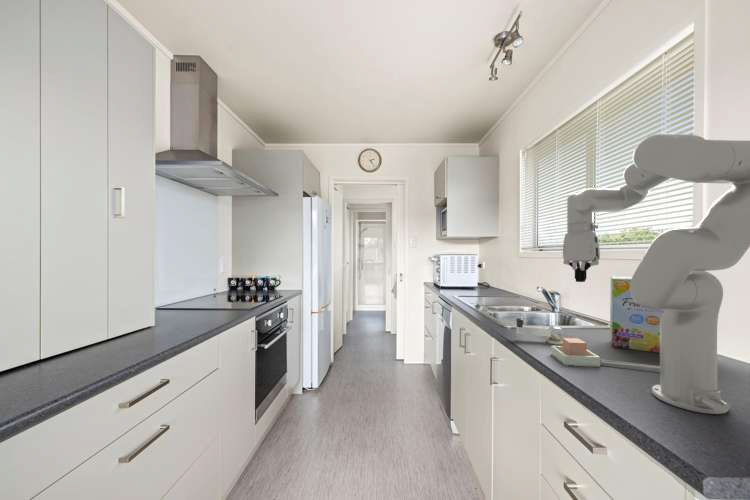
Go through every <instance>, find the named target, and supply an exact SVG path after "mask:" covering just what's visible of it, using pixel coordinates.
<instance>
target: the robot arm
mask: <svg viewBox="0 0 750 500" xmlns="http://www.w3.org/2000/svg"><path fill="white" fill-rule="evenodd" d="M632 162H633V163H631V164H629V165H627V167H625V169H624V170H623V180H624V182H625V184H624V185H622V186H619V187H617V188H613V187H611V188H607V187H603V188H602V187H601V188H599V187H598V188H597V187H596V188H594V187H591V188H590V187H589V188H586V189H584V190H582V191H580V192H578V193H577V192H576V193H571V194H569V195H568V196H567V200H566V207H567V208H566V209H567V211H566V213H567V214H566V215H567V216H566V220H567V221H566V222H567V225H566V228H567V231H566V232H567V233H565V234H564V238H563V239H564V240H563V246H562V258H563V262H562V263H563V265H568V266H570V268H572V270H573V271H574V279H575V283H585V282H586V280H587V271H588V270H589V269H590V268H591V267H593V266H598V265H599V263H600V262H599V261H600V259H601V250H600V243H599V242H600V241H599V238H598V233H597V232H594V231H595V230H597V229H598V228H599V225H598V224H595V223H594V213H600V212H605V213H607V212H608V213H609V212H610V213H612V212H613V213H615V212H621V211H624V210H626V209H629V208H631V207H633V206H635V205H638V204H639V203H641V202H643V201H644V200H645V199H646V198H647V196H648V195H649V194H650V191H651V190H652V189H655V188H657V187H658V186H660V185H662V184H664V183H666V182H668V181H670V180H677V181H678V180H679V181H682V182H688V183H695V184H731V188H730V189H729V190H727V191H726V192H724V194H722V195H721V196H720V197H719V198H717V199H716V200H715V201H714V202H713V203H712V204H711V206H710V207H709V208H708V210H707V212H706V214H705V215H704V216H703V218H702V219H701V221H700V222H698V224H697V225H696V226H694V227H676V228H672V229H668V230H666V231H664V232H662V233H661V234H659V235H658V236H657V237H655V238H654V240H652V242H651V244H650V245H649V246H648V249H647V250H646V252H645V254H644V255H643V257H642V259H641V261H640V262H639V264H638V265H637V268H636V270H635V272H634V273H633V275H632V276H631V277H632V279H631V283H630V293H631V296H632V298H633V300H634V301H635V302H636V303H637V304H639V305H640V306H643V307H645V308H649V309H665V310H664V312H663V314H662V317H661V320H660V353H659V366H660V372H659V384H654V385H653V386H652V387H651V394H652V395H653V396H654V397H656V398H657V399H659V400H660V401H662V402H664V403H667V404H668V405H671V406H675V407H677V408H680V409H684V410H687V411H691V412H696V413H700V414H701V413H702V414H708V415H723V414H726V413H727V412H728V411H729V410H730V409H731V408H732V406H731V404H730V403H728V402H726V401H725V400H722V391H719V390H718V323H719V322H718V321H719V314H720V310H721V307H722V306H721V305H722V303H723V298H724V288H723V285H722V283H721V281H720V280H719V279H718V278H717V277H716V276H715V275H714V274H712V273H710V271H721V270H727V269H729V268H732V267H733V266H735V265H736V264H737V263H738V262H740V260H741V259H742V258H743V256H744V255H745V254H746V252H747V251H748V250H749V248H750V140H726V139H725V140H722V139H705V138H704V137H702V136H699V135H696V134H689V133H685V134H683V133H658V134H653V135H650V136H648V137H646V138H645V139H644V140H642V141H641V142H640V143H638V145H637V146H636V147H635V149H634V151H633V154H632ZM708 271H709V272H708Z"/></svg>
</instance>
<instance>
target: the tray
mask: <svg viewBox="0 0 750 500" xmlns="http://www.w3.org/2000/svg"><path fill="white" fill-rule="evenodd" d="M550 348H551V350H550V351H551V356H553V357H554V358H555V359H556V358H557V360H558V362H560V363H561V362H562V363H561V364H562V365H564V366H568V365H574V367H592V368H594V367H595V368H600V367H601V365H600V359H601V357H600V356H599V355H597V354H596V353H593V352H592V351H591V350H589V349H587V356H575V355H565V354H564V353H563V352H562V345H550Z"/></svg>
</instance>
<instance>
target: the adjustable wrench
mask: <svg viewBox="0 0 750 500" xmlns="http://www.w3.org/2000/svg"><path fill="white" fill-rule="evenodd" d="M600 366H605V367H613V368H621V369H629V370H638V371H646V372H647V371H648V372H655V373H660V365H655V364H654V365H653V364H646V363H635V362H626V361H617V360H609V359H608V360H607V359H601V358H600Z"/></svg>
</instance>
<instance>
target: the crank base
mask: <svg viewBox="0 0 750 500" xmlns="http://www.w3.org/2000/svg"><path fill="white" fill-rule="evenodd" d="M545 340H546V343H548V344H550V345H553V346H562V341H554V340H550V339H549V337H546V339H545Z"/></svg>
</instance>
